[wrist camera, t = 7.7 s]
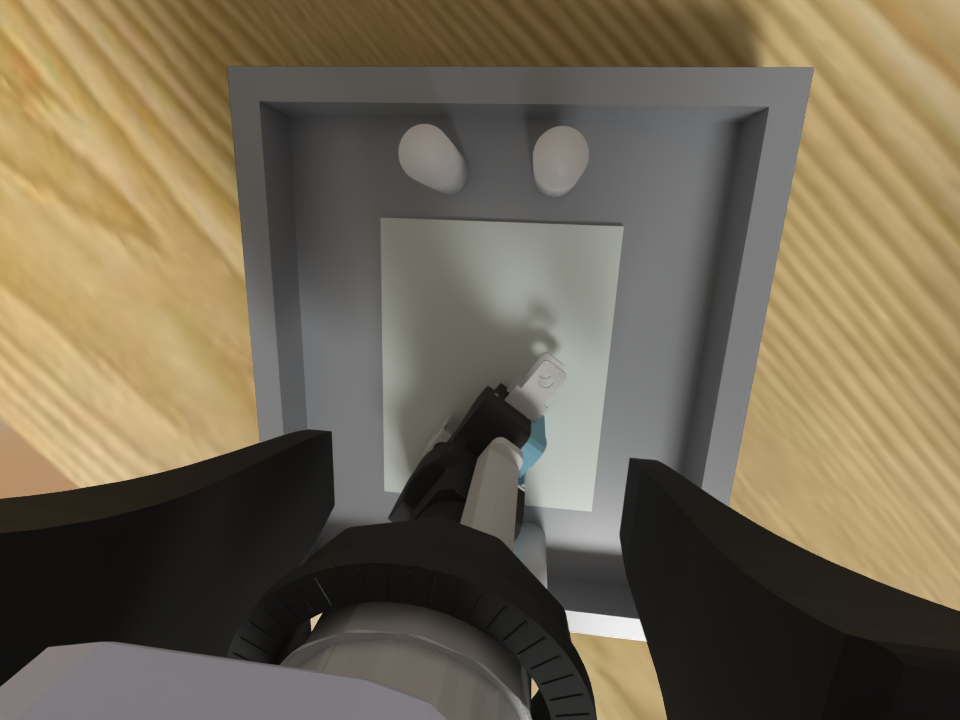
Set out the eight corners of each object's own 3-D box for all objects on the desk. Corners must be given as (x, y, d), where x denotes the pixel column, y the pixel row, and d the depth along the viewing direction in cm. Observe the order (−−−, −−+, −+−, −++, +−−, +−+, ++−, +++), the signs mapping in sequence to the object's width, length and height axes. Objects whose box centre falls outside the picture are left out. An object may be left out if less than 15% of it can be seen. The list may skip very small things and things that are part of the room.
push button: (487, 302, 14) (377, 440, 4) (625, 408, 14) (815, 760, 5) (369, 458, 16) (104, 804, 6) (494, 549, 16) (432, 1016, 6)
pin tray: (765, 98, 13) (859, 39, 9) (678, 593, 17) (718, 693, 13) (275, 93, 14) (183, 41, 10) (305, 551, 18) (246, 630, 14)
